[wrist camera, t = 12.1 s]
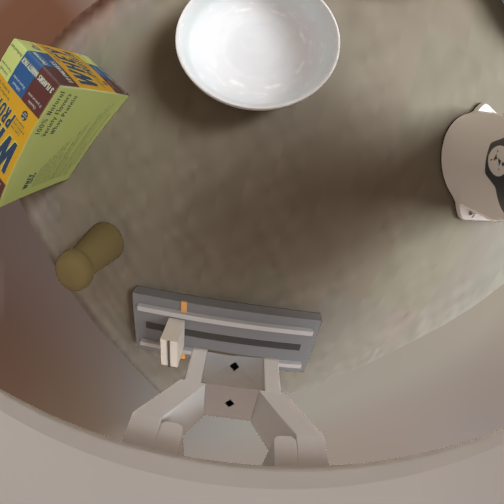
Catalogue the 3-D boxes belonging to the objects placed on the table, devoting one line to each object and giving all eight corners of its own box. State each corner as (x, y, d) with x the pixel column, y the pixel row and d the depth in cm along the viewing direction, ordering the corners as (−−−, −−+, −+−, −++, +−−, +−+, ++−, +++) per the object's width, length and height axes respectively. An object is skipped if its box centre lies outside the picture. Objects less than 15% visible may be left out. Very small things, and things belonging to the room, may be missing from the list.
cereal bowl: (353, 60, 30) (373, 47, 23) (256, 141, 34) (255, 144, 28) (259, -25, 25) (259, -51, 18) (162, 53, 30) (142, 39, 23)
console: (319, 313, 44) (323, 324, 41) (302, 363, 48) (303, 375, 46) (136, 285, 43) (130, 295, 40) (140, 340, 47) (135, 350, 44)
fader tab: (184, 320, 42) (177, 343, 37) (184, 345, 44) (177, 368, 39) (169, 317, 42) (159, 339, 37) (169, 342, 44) (161, 365, 39)
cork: (90, 217, 38) (47, 246, 28) (126, 228, 39) (88, 261, 29) (88, 253, 41) (49, 289, 31) (121, 265, 41) (88, 305, 31)
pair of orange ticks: (187, 301, 41) (186, 302, 41) (185, 358, 46) (184, 359, 45) (181, 300, 41) (181, 301, 41) (180, 357, 46) (180, 358, 45)
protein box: (131, 95, 32) (61, 84, 18) (68, 180, 36) (-4, 211, 22) (87, 54, 29) (14, 35, 15) (31, 138, 33) (-42, 155, 19)
